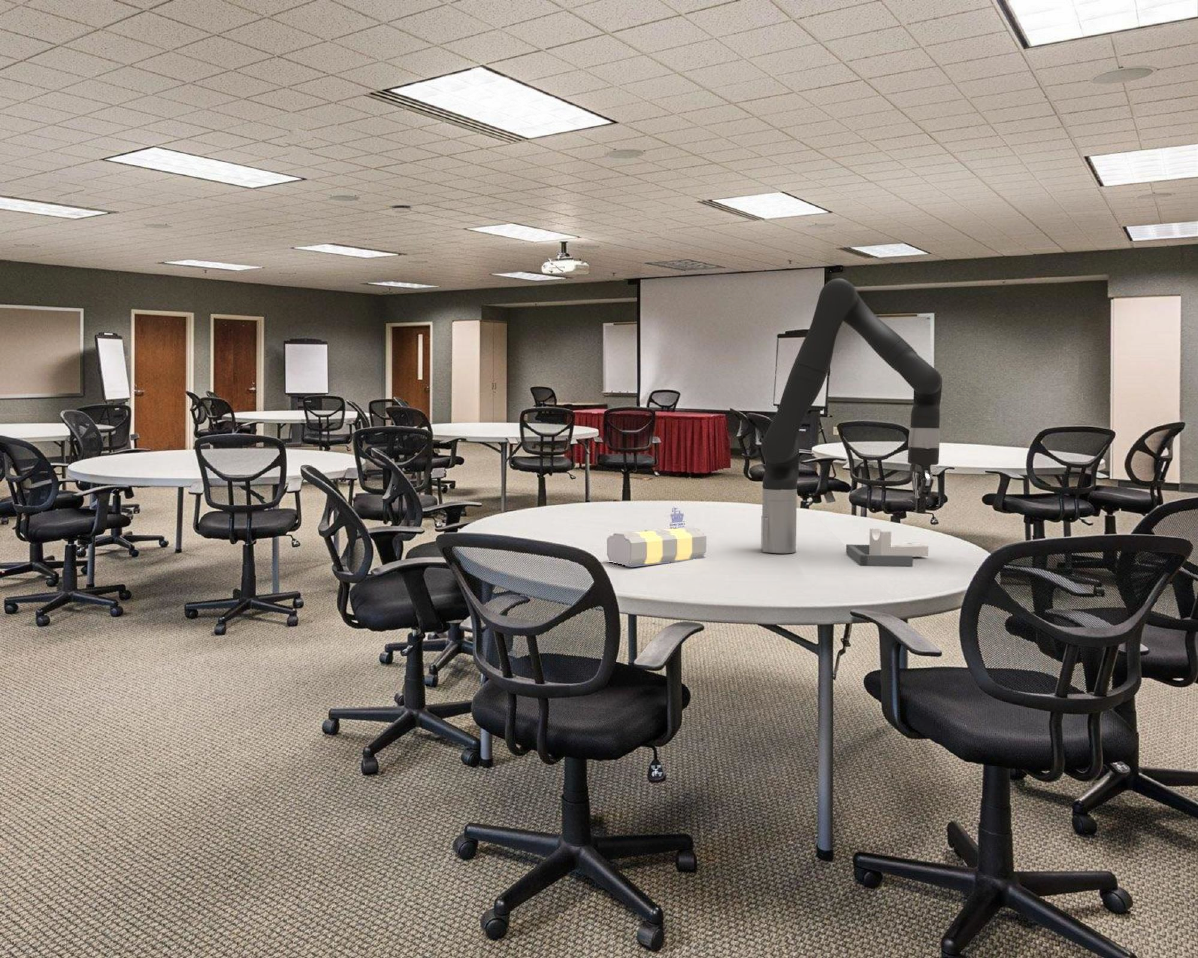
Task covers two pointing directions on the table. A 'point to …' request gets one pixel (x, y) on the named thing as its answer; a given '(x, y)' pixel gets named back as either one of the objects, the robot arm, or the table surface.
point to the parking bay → (876, 557)
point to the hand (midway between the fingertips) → (920, 513)
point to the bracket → (893, 545)
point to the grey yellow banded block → (657, 545)
